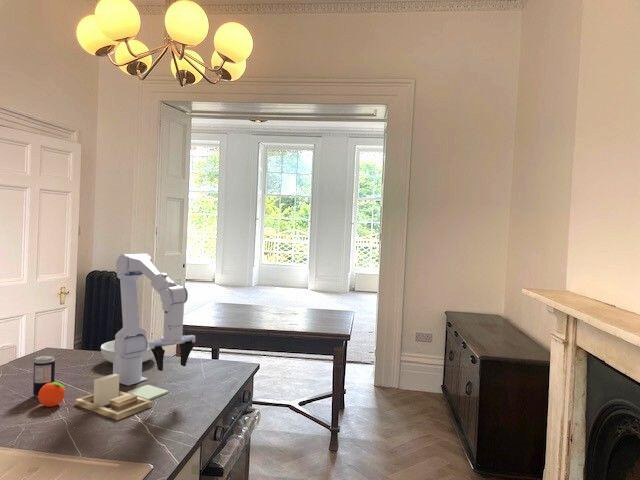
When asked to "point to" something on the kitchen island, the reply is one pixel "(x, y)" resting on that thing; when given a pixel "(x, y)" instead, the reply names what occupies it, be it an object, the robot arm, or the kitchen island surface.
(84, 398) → the wooden rectangular frame
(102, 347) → the serving bowl
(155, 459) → the kitchen island surface
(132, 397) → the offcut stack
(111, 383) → the cream rectangular block
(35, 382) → the beverage can
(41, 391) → the clementine
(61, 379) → the kitchen island surface
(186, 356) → the robot arm
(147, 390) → the sage mat
